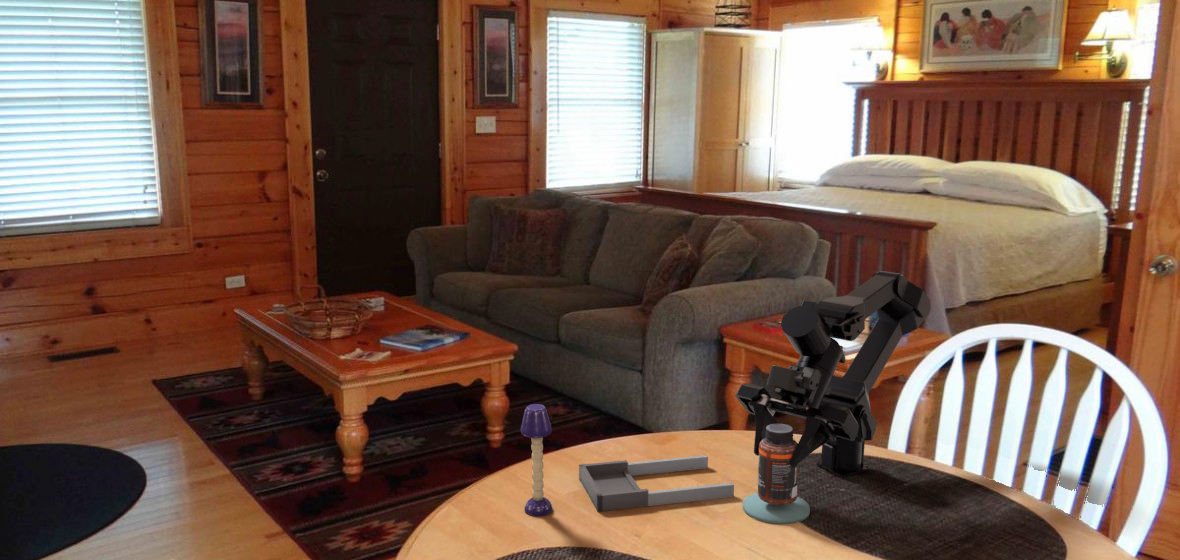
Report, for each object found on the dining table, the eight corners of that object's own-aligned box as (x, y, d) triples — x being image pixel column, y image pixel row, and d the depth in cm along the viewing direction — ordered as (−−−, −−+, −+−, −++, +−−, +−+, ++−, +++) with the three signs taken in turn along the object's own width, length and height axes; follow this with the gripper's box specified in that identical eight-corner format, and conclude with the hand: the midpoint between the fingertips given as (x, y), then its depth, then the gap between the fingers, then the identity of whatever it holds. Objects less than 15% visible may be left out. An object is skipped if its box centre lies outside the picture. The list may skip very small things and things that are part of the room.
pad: (780, 490, 151) (780, 486, 151) (823, 514, 143) (823, 511, 143) (729, 503, 147) (729, 499, 147) (771, 529, 138) (771, 525, 138)
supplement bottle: (805, 502, 143) (808, 431, 140) (771, 509, 141) (774, 437, 138) (782, 487, 148) (785, 418, 146) (749, 494, 146) (751, 424, 144)
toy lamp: (555, 516, 143) (554, 410, 139) (524, 519, 142) (522, 412, 138) (549, 502, 147) (548, 399, 144) (519, 505, 146) (517, 402, 143)
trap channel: (706, 466, 161) (706, 452, 160) (733, 496, 149) (734, 481, 149) (579, 479, 156) (579, 464, 155) (597, 511, 144) (597, 496, 144)
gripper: (743, 333, 149) (700, 419, 143) (853, 355, 136) (811, 451, 131) (769, 369, 156) (729, 453, 150) (875, 394, 144) (837, 486, 138)
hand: (773, 459), depth 142 cm, fingers closed on supplement bottle, 6 cm apart
